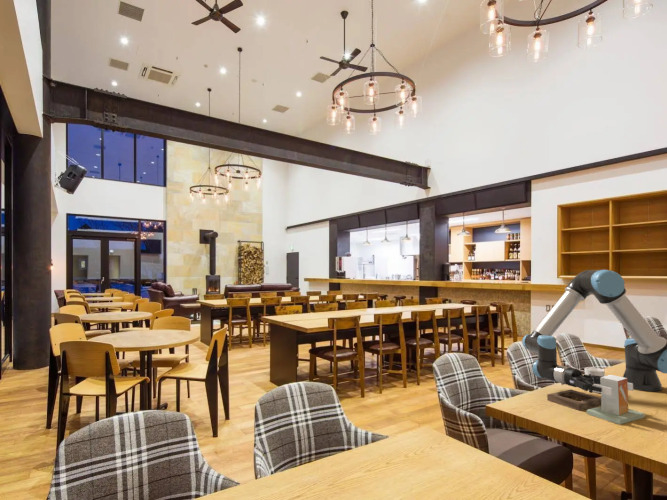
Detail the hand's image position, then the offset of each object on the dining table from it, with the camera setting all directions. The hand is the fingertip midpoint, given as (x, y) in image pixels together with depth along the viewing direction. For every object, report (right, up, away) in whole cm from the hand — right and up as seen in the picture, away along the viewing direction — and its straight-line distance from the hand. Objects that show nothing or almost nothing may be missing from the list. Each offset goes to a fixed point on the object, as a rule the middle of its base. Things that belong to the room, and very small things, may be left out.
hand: (622, 389), depth 150 cm
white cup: (+12, -13, +33) cm, 37 cm away
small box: (-1, -10, +2) cm, 10 cm away
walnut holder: (-7, -12, +17) cm, 22 cm away
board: (-1, -11, +2) cm, 11 cm away
